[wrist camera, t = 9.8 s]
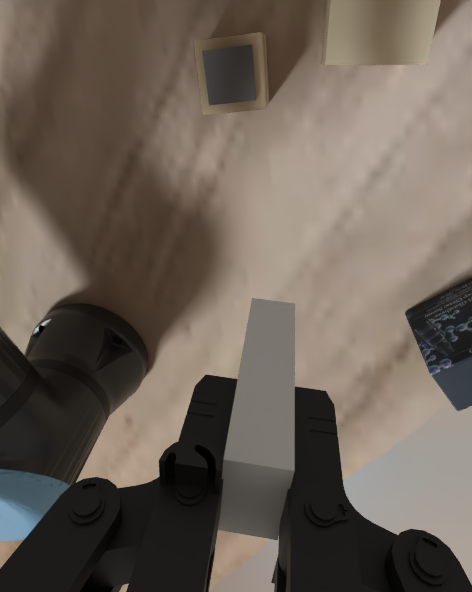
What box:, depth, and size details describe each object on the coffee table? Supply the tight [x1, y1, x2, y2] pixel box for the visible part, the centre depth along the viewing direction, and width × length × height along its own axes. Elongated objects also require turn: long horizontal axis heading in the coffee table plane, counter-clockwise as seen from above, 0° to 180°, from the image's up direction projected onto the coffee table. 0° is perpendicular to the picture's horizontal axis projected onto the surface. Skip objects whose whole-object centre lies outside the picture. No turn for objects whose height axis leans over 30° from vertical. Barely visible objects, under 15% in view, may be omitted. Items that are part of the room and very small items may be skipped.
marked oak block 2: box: [193, 32, 269, 115], centre depth 32 cm, size 5×5×6 cm
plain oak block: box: [320, 0, 441, 65], centre depth 29 cm, size 7×7×6 cm
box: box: [405, 279, 472, 411], centre depth 39 cm, size 8×6×11 cm
